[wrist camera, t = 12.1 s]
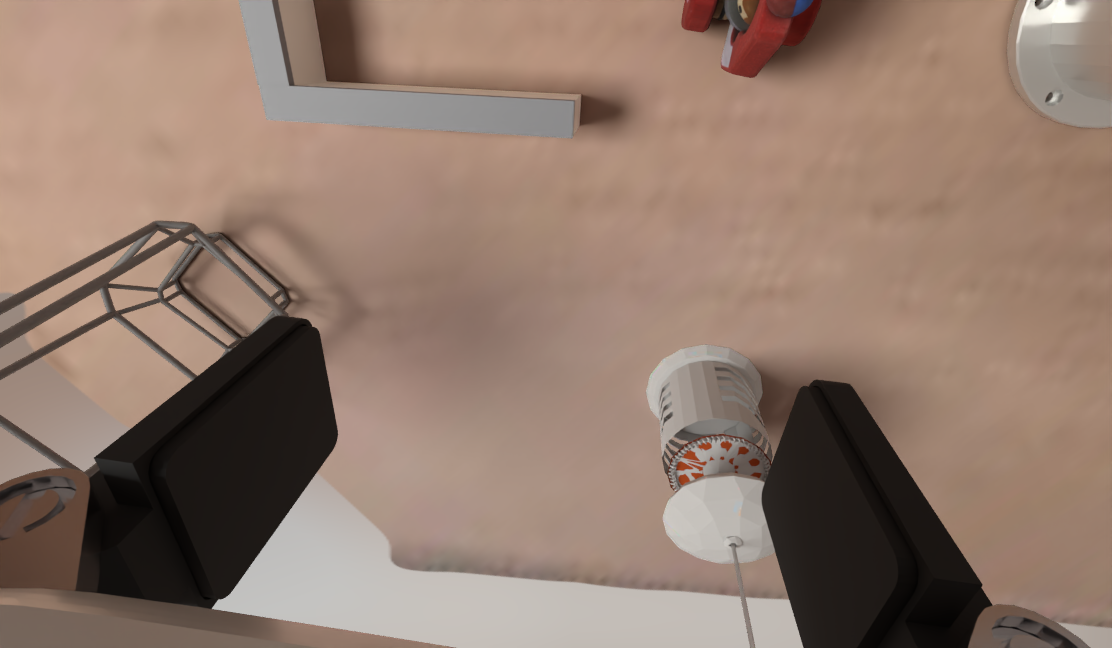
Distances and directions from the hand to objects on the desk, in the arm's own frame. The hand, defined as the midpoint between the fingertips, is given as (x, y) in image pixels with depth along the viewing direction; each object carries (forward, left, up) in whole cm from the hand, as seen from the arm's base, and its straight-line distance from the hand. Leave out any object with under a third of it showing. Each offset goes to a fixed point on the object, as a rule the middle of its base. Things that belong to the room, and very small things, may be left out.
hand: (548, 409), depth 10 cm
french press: (-10, +21, -30) cm, 38 cm away
